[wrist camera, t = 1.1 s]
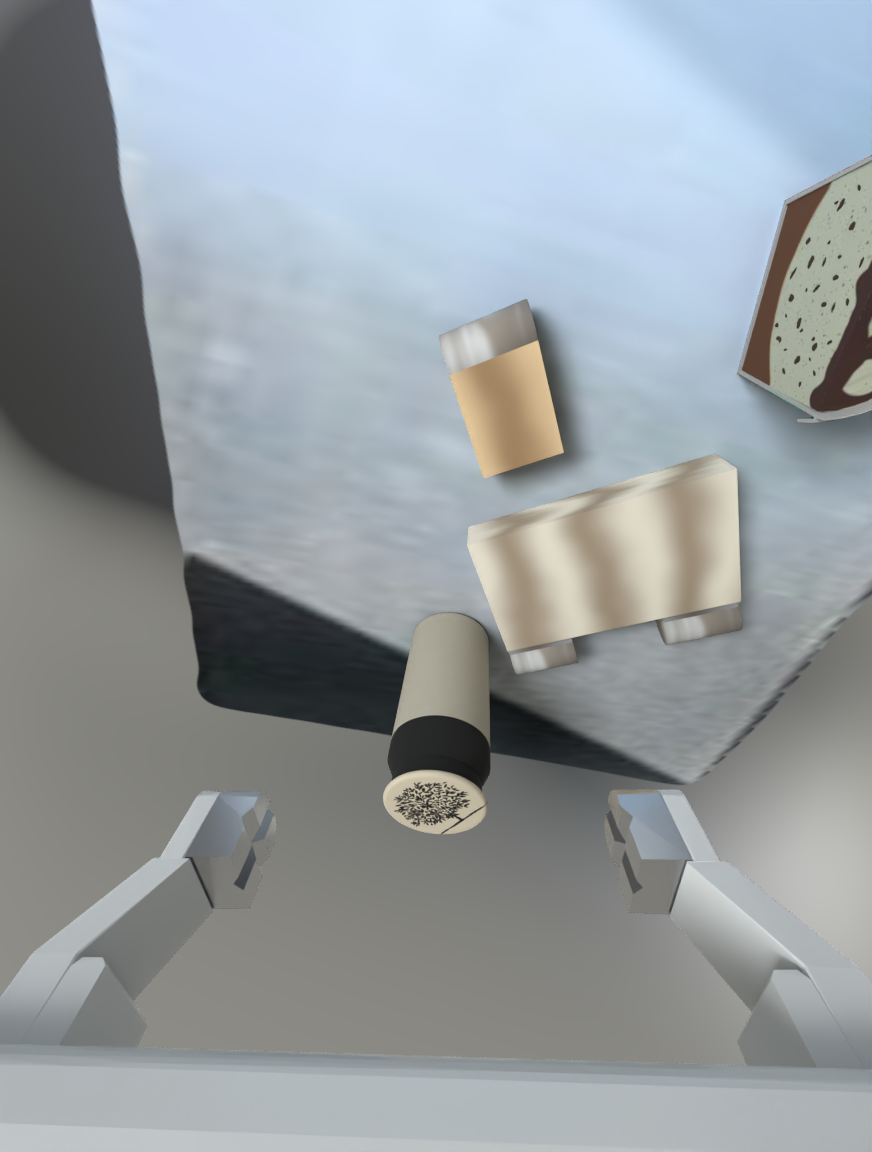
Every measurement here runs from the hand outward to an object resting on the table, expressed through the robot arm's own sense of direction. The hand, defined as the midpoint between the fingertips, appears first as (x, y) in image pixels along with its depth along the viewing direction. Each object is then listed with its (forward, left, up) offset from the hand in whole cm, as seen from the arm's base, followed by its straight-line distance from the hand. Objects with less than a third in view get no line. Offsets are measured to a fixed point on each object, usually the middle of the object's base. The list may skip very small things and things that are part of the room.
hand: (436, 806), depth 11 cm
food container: (-24, -2, -30) cm, 38 cm away
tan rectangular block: (-4, -3, -30) cm, 30 cm away
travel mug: (+8, +19, -30) cm, 36 cm away
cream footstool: (-8, +15, -30) cm, 34 cm away
